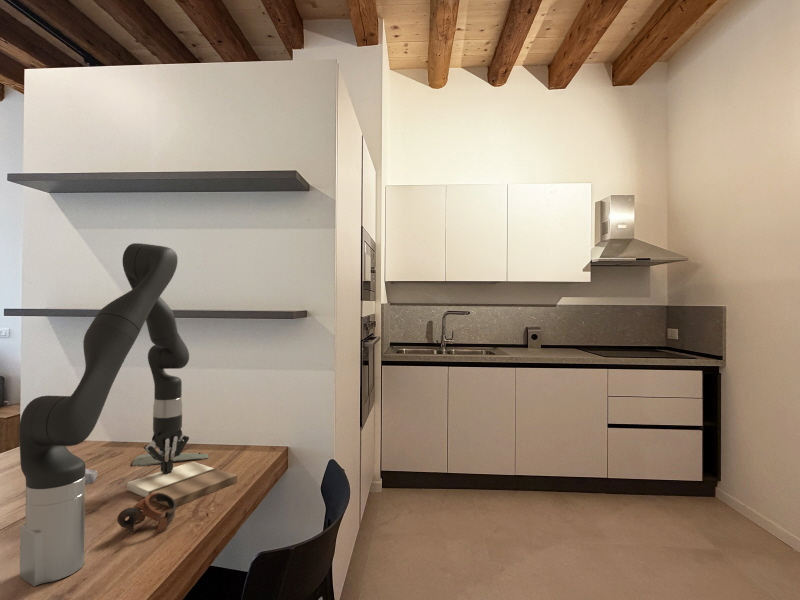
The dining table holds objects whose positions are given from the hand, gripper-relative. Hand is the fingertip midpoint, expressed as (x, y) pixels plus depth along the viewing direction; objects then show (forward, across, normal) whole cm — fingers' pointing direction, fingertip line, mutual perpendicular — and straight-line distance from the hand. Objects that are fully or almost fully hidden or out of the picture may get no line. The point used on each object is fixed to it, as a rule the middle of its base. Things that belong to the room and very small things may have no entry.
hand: (166, 472), depth 134 cm
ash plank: (+2, 0, -3) cm, 3 cm away
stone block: (+3, -14, +22) cm, 26 cm away
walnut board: (+2, 0, -13) cm, 13 cm away
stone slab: (+4, +12, +16) cm, 21 cm away
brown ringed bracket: (+2, -20, -23) cm, 30 cm away
